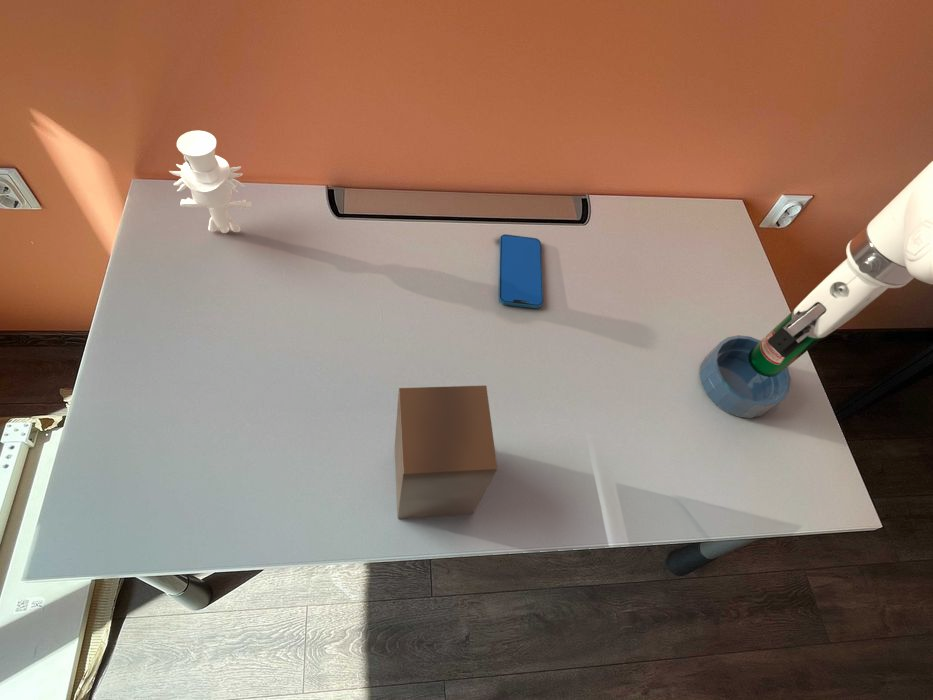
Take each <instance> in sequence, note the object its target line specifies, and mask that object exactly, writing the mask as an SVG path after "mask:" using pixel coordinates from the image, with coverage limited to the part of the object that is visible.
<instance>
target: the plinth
mask: <svg viewBox="0 0 933 700" xmlns="http://www.w3.org/2000/svg"><path fill="white" fill-rule="evenodd" d="M487 388H488V386H487V385H455V386H425V387H422V386H421V387H398V393H397V394H398V395H397V410H396V420H395V433H394V434H395V435H394V465H395V467H394V468H395V486H396V487H395V490H396V493H395V494H396V514H397V515H396V517H397V520H402V519H418V518H432V517H433V518H434V517H446V516H461V515H473V514H474V513H475V511H476V510H477V507H478V506H479V503H480V502H481V500H482V498H483V497H484V495H485V492H486V491H487V489H488V487H489V486H490V484H491V482H492V480H493V478H494V476H495V474H496V473H497V471H498V463H497V462H498V461H497V455H496V448H495V440H494V434H493V425H492V417H491V411H490V402H489V396H488V389H487Z"/></svg>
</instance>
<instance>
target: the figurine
mask: <svg viewBox="0 0 933 700" xmlns="http://www.w3.org/2000/svg"><path fill="white" fill-rule="evenodd" d="M176 148H177V151H179V152H180V154H182V156H183V160H184V162H183V163H182V164H179V163H176V164H175V165H176V167H177V168H179V169H180V170H175V171H174V170H168V172H169V173H170V174H171V175H173V176H176V177H180V178H179V179H178V180H177V181H175V182H174V183H173V186H174V187H179V188H178V189H177V190H176V192H178V193H179V192H182V191H183V190H185V189H186V188H189V189H190V193H191V197H192V198H190V197H187V198H186V199H184V198H181V200H180V202H179V206H180V207H181V208H189V209H193V208H207V209H208V211H209V214H210V218H209V221H208V228H207V229H208V231H209V232H212V233H214V232H217V231H218V230H220V232H221V233H222V234H228V233H229V231H230V230H231V231H232V232H234V233H239V232H241V230H242V229H241V228H240V226H239V224H238V223H237V222H236V221H235V220H234V219H233V217H231V216H230V213H229V209H236V210H251V209H252V206H253V205H252V201H248V200H247V199H246V198H245V199H242V200H233V201H231V200H232V196H233V192H234V193H235V194H240V193H239V191H238V190H237V189H236V188H237V186H238V187H241V188H244V187H246V185H245V184H244V183H242V182H241V181H240V180H237V179H236V178H240V177H241V176H242V177H243V175H244V173H242V172H240V173H239V172H237V171H240V170H241V169H242V166H241V165H240V166H232V167H231V166H230V164H229V162H228V161H227V160H226V159H225V158H223V157H221V156H219V155H216V148H217V139H216V137H215V135H213V134H212V133H211V132H208V131H205V130H199V129H198V130H197V129H196V130H190V131H187V132H185V133H183V134H181V135H180V136H179V137H178V138H177V141H176ZM228 208H229V209H228Z"/></svg>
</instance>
